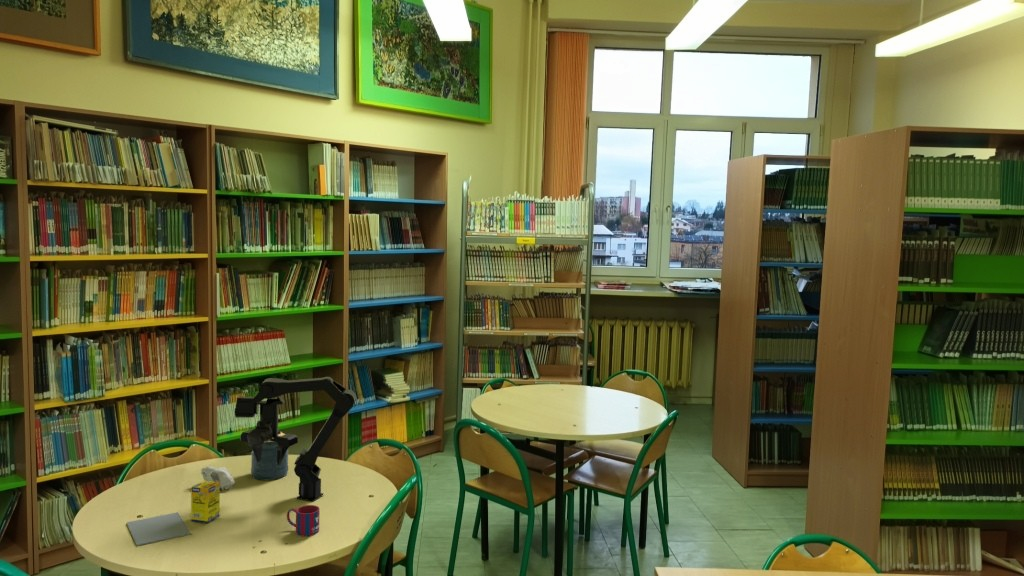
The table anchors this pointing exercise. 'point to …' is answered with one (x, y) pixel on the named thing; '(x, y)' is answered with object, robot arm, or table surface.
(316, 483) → the robot arm
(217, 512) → the supplement box
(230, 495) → the table surface
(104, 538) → the table surface
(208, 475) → the skull
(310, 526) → the mug
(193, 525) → the table surface
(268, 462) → the canister
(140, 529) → the mat
